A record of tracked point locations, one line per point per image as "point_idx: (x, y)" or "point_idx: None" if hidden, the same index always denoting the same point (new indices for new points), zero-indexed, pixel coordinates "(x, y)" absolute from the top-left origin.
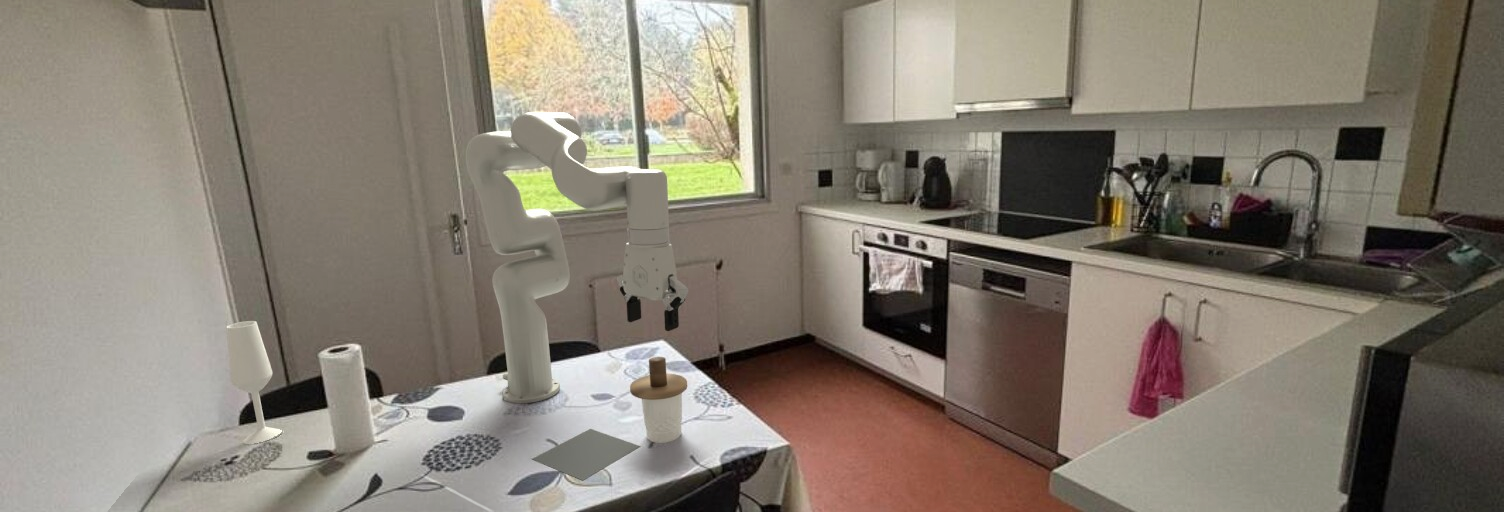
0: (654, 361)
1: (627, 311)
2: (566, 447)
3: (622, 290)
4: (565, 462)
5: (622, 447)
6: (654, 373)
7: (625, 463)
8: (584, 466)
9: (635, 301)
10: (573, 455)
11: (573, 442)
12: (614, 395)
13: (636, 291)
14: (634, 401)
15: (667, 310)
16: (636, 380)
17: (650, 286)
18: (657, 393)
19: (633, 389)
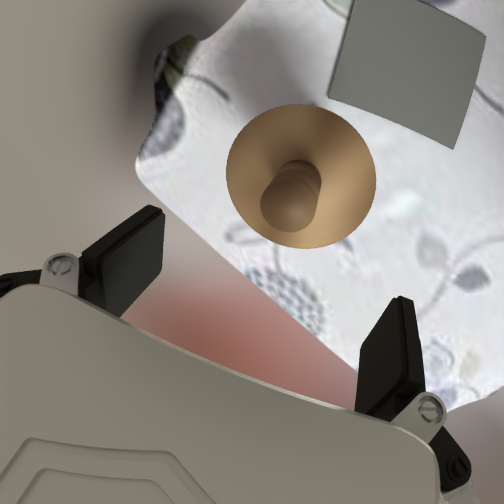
0: (288, 190)
1: (415, 337)
2: (458, 76)
3: (454, 463)
4: (427, 25)
5: (359, 86)
6: (291, 169)
7: (326, 43)
8: (387, 16)
9: (373, 407)
10: (429, 48)
11: (456, 94)
12: (454, 285)
13: (264, 431)
14: (415, 269)
15: (83, 261)
16: (371, 195)
17: (18, 392)
18: (271, 123)
19: (351, 135)
